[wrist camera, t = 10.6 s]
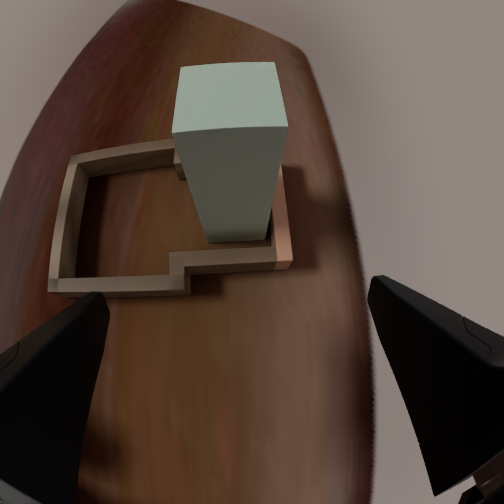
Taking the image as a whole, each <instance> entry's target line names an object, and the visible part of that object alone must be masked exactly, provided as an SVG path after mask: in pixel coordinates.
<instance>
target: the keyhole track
mask: <svg viewBox="0 0 504 504" xmlns="http://www.w3.org/2000/svg"><path fill="white" fill-rule="evenodd" d="M168 166H175V168H176V171H177V174H178V177H179V179H180V180H186V176H185V173H184V170H183V167H182V164H181V160H180V157H179V154H178V151H177V148H176V145H175V141H174V139H166V140H158V141H151V142H143V143H137V144H130V145H124V146H118V147H113V148H107V149H102V150H97V151H92V152H87V153H83V154H78V155H74V156H71V158H70V161H69V165H68V169H67V173H66V176H65V180H64V185H63V189H62V193H61V198H60V203H59V207H58V213H57V218H56V224H55V230H54V236H53V243H52V251H51V259H50V268H49V280H48V292H50V293H53V294H56V295H59V296H62V297H83V296H85V295H86V294H88V293H89V292H92V291H100V292H102V293H103V295H104V297H154V296H185V295H191V275H196V274H216V273H234V272H251V271H268V270H284V269H288V267H289V266H290V264H291V262H292V261H293V257H292V248H291V239H290V231H289V222H288V214H287V206H286V198H285V191H284V183H283V176H282V169H281V164H280V169H279V174H278V179H277V183H276V188H275V193H274V198H273V203H272V208H271V212H270V217H269V225H270V236H271V247H253V248H235V249H218V250H200V251H183V252H169V275H149V276H124V277H96V278H75V270H76V258H77V249H78V240H79V232H80V225H81V218H82V212H83V206H84V200H85V195H86V190H87V185H88V180H89V178H90V177H95V176H101V175H107V174H114V173H121V172H127V171H135V170H142V169H150V168H159V167H168Z"/></svg>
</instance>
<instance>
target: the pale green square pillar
mask: <svg viewBox="0 0 504 504" xmlns="http://www.w3.org/2000/svg"><path fill="white" fill-rule="evenodd" d="M287 129H288V123H287V118H286V113H285V108H284V104H283V99H282V94H281V89H280V85H279V80H278V76H277V72H276V67H275V63H274V62H241V63H220V64H207V65H196V66H187V67H181V71H180V77H179V84H178V90H177V97H176V104H175V111H174V119H173V128H172V135H173V138H174V141H175V145H176V148H177V151H178V154H179V157H180V160H181V164H182V167H183V170H184V173H185V176H186V179H187V182H188V185H189V188H190V191H191V194H192V197H193V200H194V203H195V206H196V209H197V212H198V215H199V218H200V221H201V224H202V227H203V230H204V232H205V235H206V238H207V241H208V243H220V242H237V241H254V240H265V236H266V231H267V227H268V222H269V217H270V212H271V208H272V203H273V198H274V193H275V188H276V183H277V179H278V174H279V169H280V164H281V159H282V154H283V149H284V144H285V139H286V134H287Z"/></svg>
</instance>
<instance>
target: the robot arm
mask: <svg viewBox="0 0 504 504" xmlns="http://www.w3.org/2000/svg"><path fill="white" fill-rule="evenodd" d="M367 300H368V305H369V308H370V311H371V314H372V317H373V320H374V324H375V327H376V330H377V333H378V336H379V339H380V341H381V344H382V347H383V349H384V351H385V354H386V356H387V359H388V361H389V363H390V366H391V368H392V371H393V373H394V375H395V378H396V381H397V384H398V386H399V389H400V391H401V394H402V397H403V399H404V402H405V405H406V407H407V410H408V413H409V416H410V419H411V422H412V425H413V427H414V430H415V433H416V436H417V439H418V442H419V443H420V444H419V446H420V449H421V453H422V455H423V459H424V462H425V466H426V469H427V473H428V476H429V480H430V483H431V487H432V491H433V494H434V496H437V495H439V494H441V493H443V492H445V491H447V490H449V489H451V488H452V487H454V486H456V485H458V484H460V483H461V482H463V481H465V480H466V479H468V478H470V477H471V476H473V478H474V480H475V483H476V485H475V486H473V487H472V488H470V489H468V490H467V491H465V492H463V493H462V496H461V498H460V501H459V503H458V504H504V337H503V336H501V335H499V334H497V333H495V332H493V331H491V330H489V329H487V328H485V327H483V326H481V325H479V324H477V323H475V322H473V321H471V320H469V319H467V318H466V317H462V315H460V314H458V313H456V312H455V311H453V310H451V309H449V308H447V307H445V306H443V305H441V304H439V303H437V302H436V301H434V300H432V299H430V298H428V297H426V296H424V295H422V294H420V293H418V292H416V291H414V290H412V289H410V288H408V287H407V286H405V285H403V284H401V283H399V282H397V281H395V280H392V279H390V278H389V277H387V276H384V275H380V276H374V277H373V278H372V279H371V283H370V288H369V292H368V297H367ZM109 320H110V311H109V308H108V306H107V303H106V300H105V297H104V295H103V293H102V292H100V291H92V292H89V293H88V294H86V295H85V296H83V297H82V298H80V299H79V300H77V301H76V302H74V303H73V304H71V305H70V306H68V307H67V308H65V309H64V310H62V311H61V312H59V313H58V314H56V315H55V316H54V317H52V318H51V319H49V320H48V321H46V322H45V323H43V324H42V325H41V326H39V327H38V328H36V329H35V330H33V331H32V332H31V333H29V334H28V335H26V336H25V337H24V338H22V339H21V340H20V342H19V341H18V342H17V343H15V344H14V345H13V346H11V347H10V348H8V349H7V350H6V351H4V352H3V353H1V354H0V504H76V493H77V483H78V475H79V467H80V459H81V452H82V446H83V440H84V435H85V429H86V424H87V419H88V414H89V409H90V405H91V400H92V396H93V392H94V387H95V383H96V379H97V375H98V372H99V368H100V364H101V360H102V356H103V352H104V347H105V341H106V335H107V330H108V325H109Z"/></svg>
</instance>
